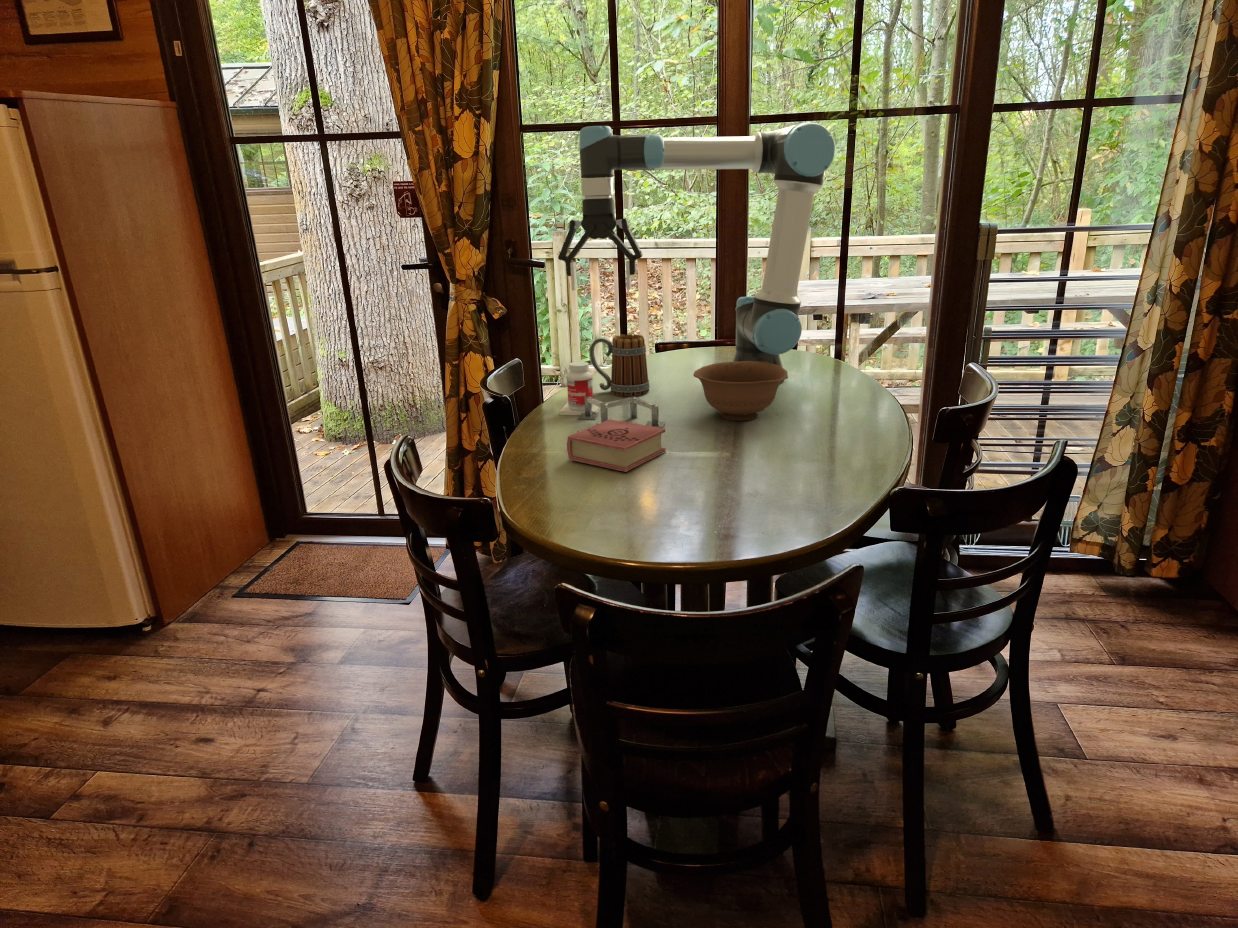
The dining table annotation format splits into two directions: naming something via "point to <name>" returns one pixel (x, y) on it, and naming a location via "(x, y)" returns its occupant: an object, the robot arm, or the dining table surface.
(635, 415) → the jointed bar linkage
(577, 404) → the pill bottle
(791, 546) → the dining table surface
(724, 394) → the bowl
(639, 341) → the mug
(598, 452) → the book
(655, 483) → the dining table surface
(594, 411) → the pad
